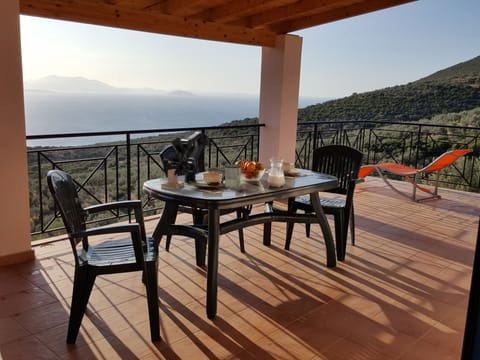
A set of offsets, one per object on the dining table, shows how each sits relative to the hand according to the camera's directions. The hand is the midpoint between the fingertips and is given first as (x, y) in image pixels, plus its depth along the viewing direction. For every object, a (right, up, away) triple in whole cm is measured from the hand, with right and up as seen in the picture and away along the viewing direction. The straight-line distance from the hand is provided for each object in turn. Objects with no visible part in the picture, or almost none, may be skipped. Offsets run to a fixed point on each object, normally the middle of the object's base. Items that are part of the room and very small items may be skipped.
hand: (171, 174), depth 280 cm
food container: (+28, -5, +22) cm, 36 cm away
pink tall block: (0, -7, +3) cm, 7 cm away
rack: (0, -8, +3) cm, 9 cm away
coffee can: (+39, -8, +10) cm, 41 cm away
